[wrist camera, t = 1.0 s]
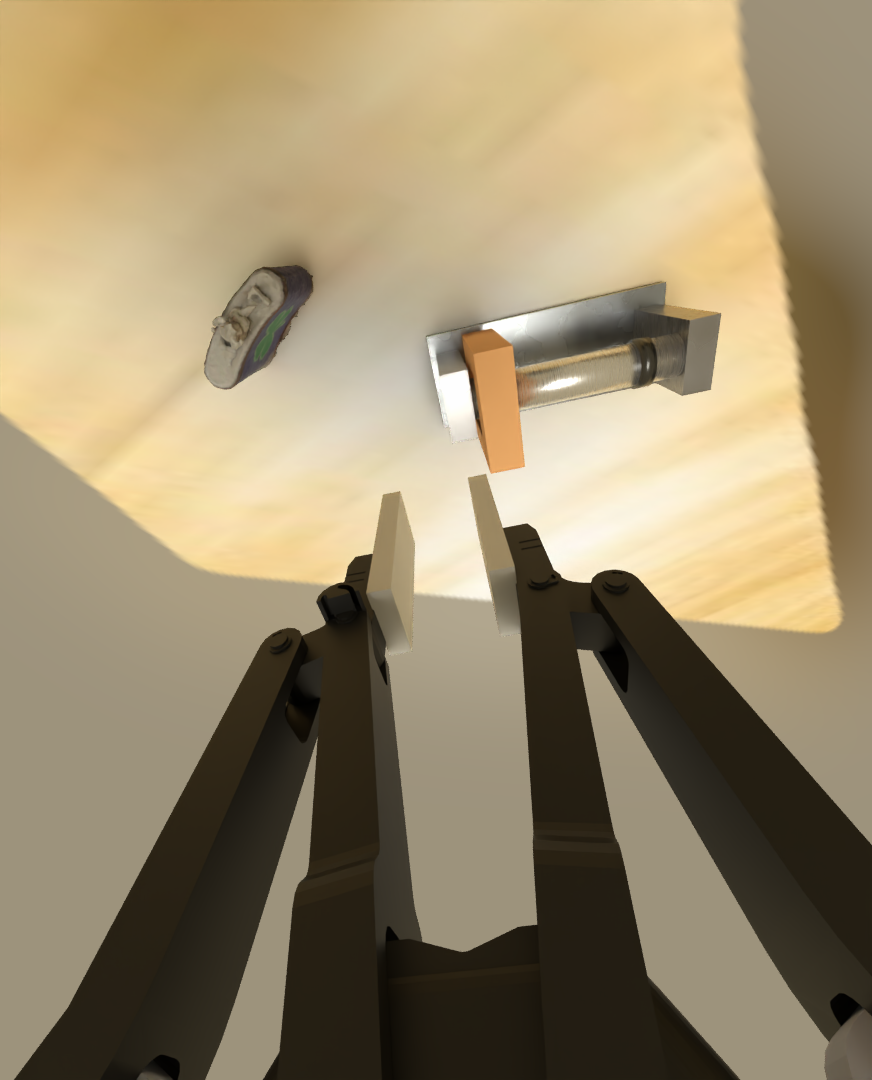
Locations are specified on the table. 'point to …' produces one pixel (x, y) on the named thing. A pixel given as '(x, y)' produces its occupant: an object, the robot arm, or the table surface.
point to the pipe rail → (584, 353)
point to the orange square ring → (495, 398)
